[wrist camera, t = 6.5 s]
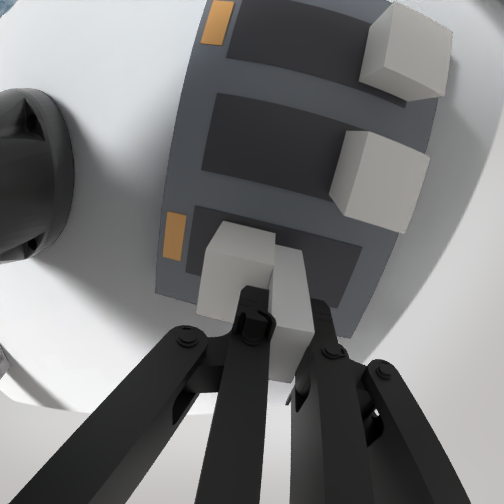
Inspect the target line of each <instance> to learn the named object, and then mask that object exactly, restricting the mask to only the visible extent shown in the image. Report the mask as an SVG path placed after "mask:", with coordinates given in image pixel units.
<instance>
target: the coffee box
mask: <svg viewBox="0 0 504 504" xmlns="http://www.w3.org/2000/svg"><path fill="white" fill-rule="evenodd" d="M9 368H10V364H9V362H8V360H7V358H6V356H5V354H4V352H3V350H2V348H1V346H0V379H1V378H2V377H3V375H4V374H5V373H6V372H7V370H8V369H9Z"/></svg>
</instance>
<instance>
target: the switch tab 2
mask: <svg viewBox="0 0 504 504" xmlns="http://www.w3.org/2000/svg"><path fill="white" fill-rule="evenodd" d="M452 34H453V32H452V31H451V30H449V29H447V28H446V27H444V26H442V25H441V24H439V23H437V22H435V21H433V20H432V19H430V18H428V17H426V16H424V15H422V14H420V13H418V12H416V11H414V10H412V9H410V8H408V7H406V6H404V5H402V4H400V3H397V2H395V1H394V2H393V3H392V4H391V5H390V6H389V7H388V8H387V9H386V10H385V12H384V13H383V14H382V15H381V16H380V17H379V18H378V19H377V20H376V21H375V22H374V23H373V24H372V25H371V26H370V28H369V33H368V38H367V43H366V48H365V53H364V58H363V63H362V67H361V72H360V77H359V82H362V83H364V84H367V85H370V86H372V87H375V88H378V89H380V90H383V91H385V92H387V93H390V94H392V95H394V96H397V97H399V98H401V99H404V100H406V101H408V102H409V101H415V100H421V99H428V98H435V97H443V96H445V91H446V85H447V79H448V72H449V64H450V56H451V46H452Z"/></svg>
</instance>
